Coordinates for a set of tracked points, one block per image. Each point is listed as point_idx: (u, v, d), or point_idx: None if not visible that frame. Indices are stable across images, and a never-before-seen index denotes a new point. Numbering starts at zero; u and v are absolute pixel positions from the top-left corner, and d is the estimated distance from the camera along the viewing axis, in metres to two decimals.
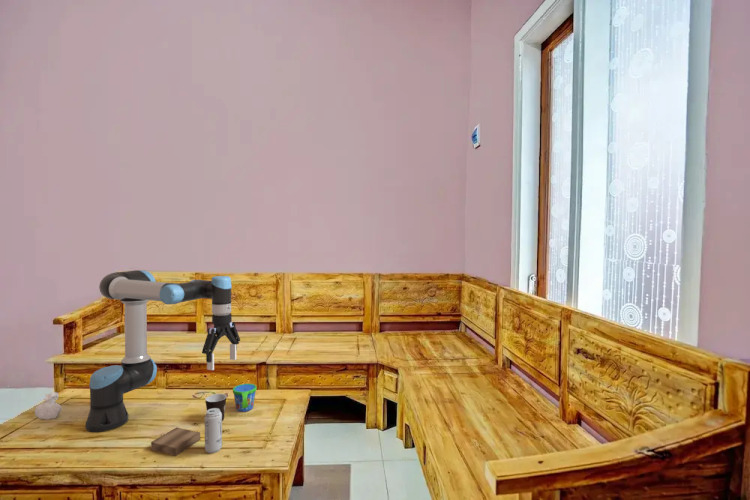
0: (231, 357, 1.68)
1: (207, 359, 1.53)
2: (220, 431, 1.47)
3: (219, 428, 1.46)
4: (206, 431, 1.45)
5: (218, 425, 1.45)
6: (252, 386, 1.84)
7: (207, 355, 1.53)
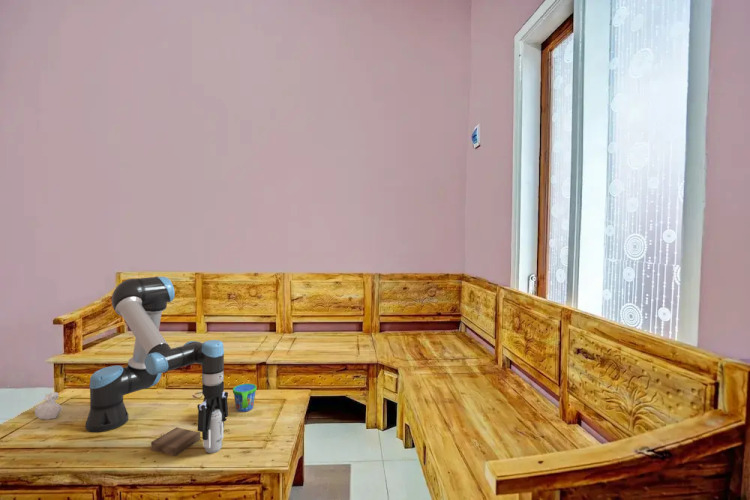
0: None
1: (203, 436, 1.43)
2: (220, 431, 1.47)
3: (219, 428, 1.46)
4: None
5: (218, 425, 1.45)
6: (252, 386, 1.84)
7: (203, 432, 1.42)
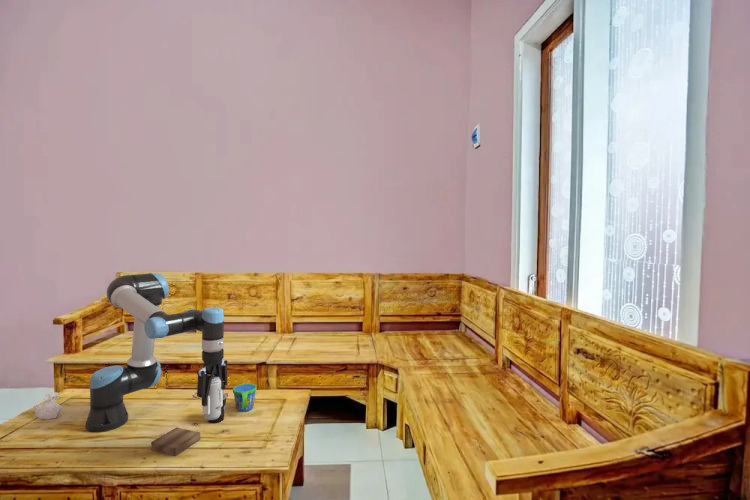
0: None
1: (202, 402, 1.42)
2: (219, 398, 1.46)
3: (218, 395, 1.46)
4: None
5: (217, 392, 1.45)
6: (252, 386, 1.84)
7: (202, 398, 1.42)
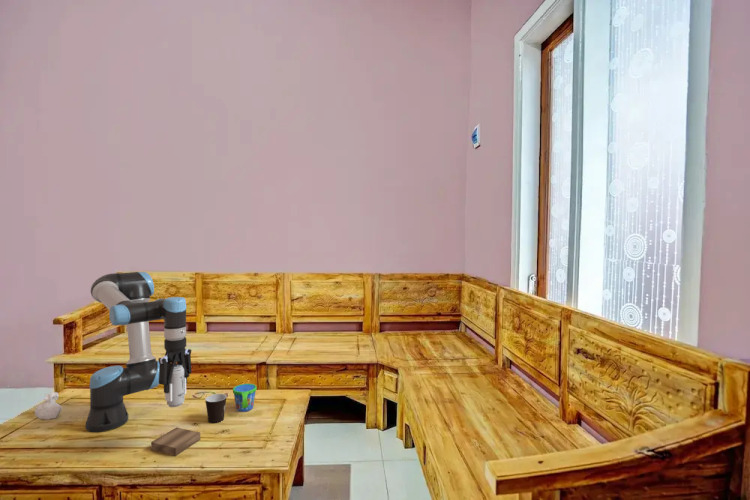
0: None
1: (165, 390, 1.45)
2: (182, 386, 1.49)
3: (181, 383, 1.49)
4: None
5: (179, 379, 1.48)
6: (252, 386, 1.84)
7: (165, 386, 1.45)
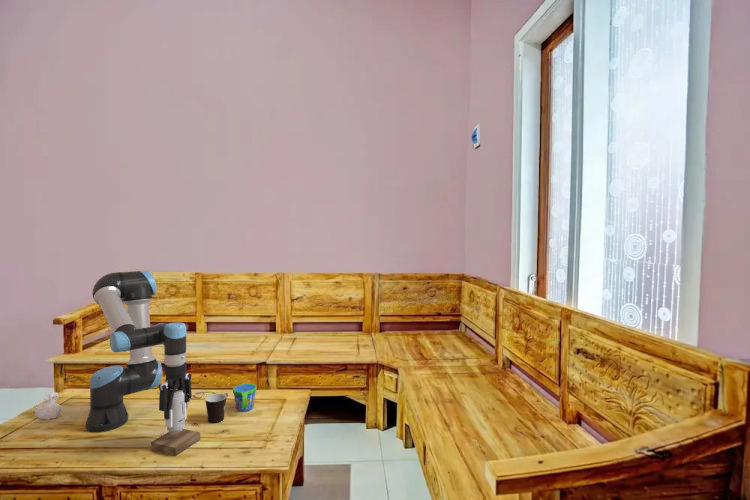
0: None
1: (165, 416, 1.46)
2: (182, 411, 1.50)
3: (181, 408, 1.49)
4: None
5: (180, 405, 1.48)
6: (252, 386, 1.84)
7: (165, 412, 1.45)
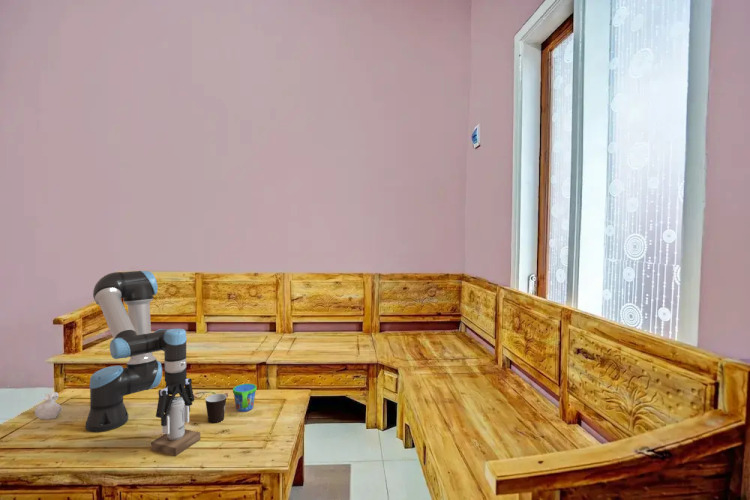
0: None
1: (162, 423, 1.44)
2: (182, 419, 1.50)
3: (181, 416, 1.49)
4: None
5: (180, 412, 1.49)
6: (252, 386, 1.84)
7: (162, 418, 1.44)
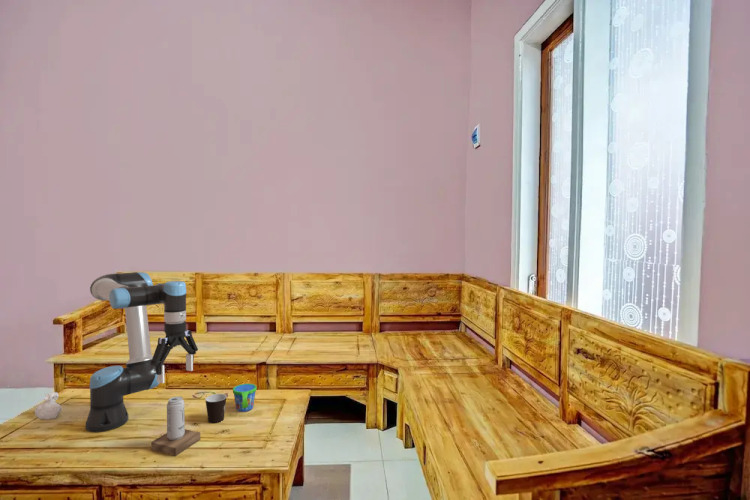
0: (187, 368, 1.56)
1: (156, 371, 1.42)
2: (182, 419, 1.50)
3: (181, 416, 1.49)
4: (168, 419, 1.48)
5: (179, 412, 1.49)
6: (252, 386, 1.84)
7: (156, 367, 1.42)
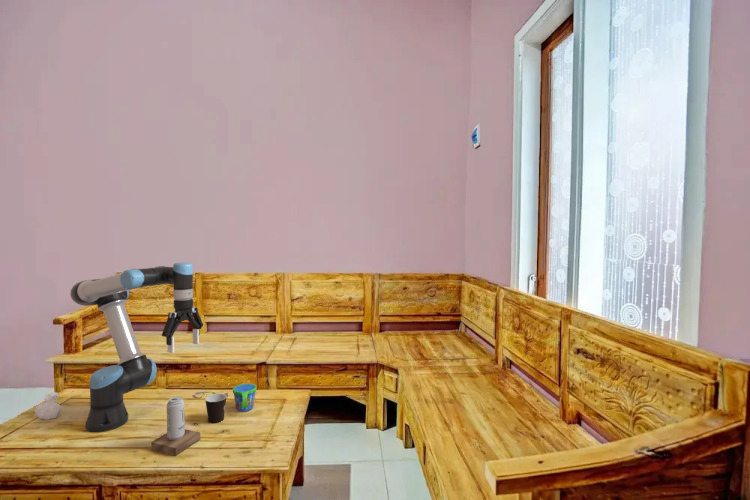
0: (194, 341, 1.73)
1: (167, 342, 1.59)
2: (182, 419, 1.50)
3: (181, 416, 1.49)
4: (168, 419, 1.48)
5: (179, 412, 1.49)
6: (252, 386, 1.84)
7: (167, 338, 1.59)
